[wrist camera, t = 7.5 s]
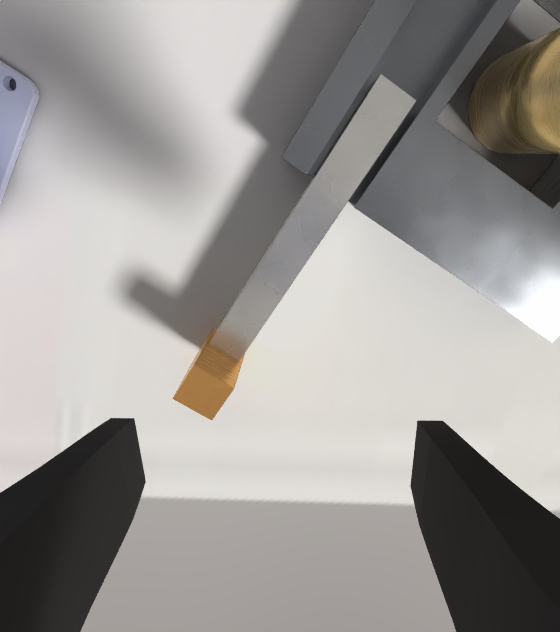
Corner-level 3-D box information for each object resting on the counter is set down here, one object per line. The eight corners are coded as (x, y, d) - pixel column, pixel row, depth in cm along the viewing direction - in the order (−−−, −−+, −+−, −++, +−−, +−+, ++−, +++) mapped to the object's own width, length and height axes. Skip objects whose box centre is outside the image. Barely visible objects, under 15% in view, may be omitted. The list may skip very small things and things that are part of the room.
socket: (284, 157, 17) (281, 157, 15) (510, -222, 13) (554, -302, 11) (522, 319, 19) (552, 342, 17) (788, 37, 15) (876, 16, 13)
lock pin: (194, 357, 20) (172, 398, 17) (370, 78, 15) (388, 58, 12) (227, 376, 20) (212, 420, 17) (409, 107, 16) (438, 95, 12)
